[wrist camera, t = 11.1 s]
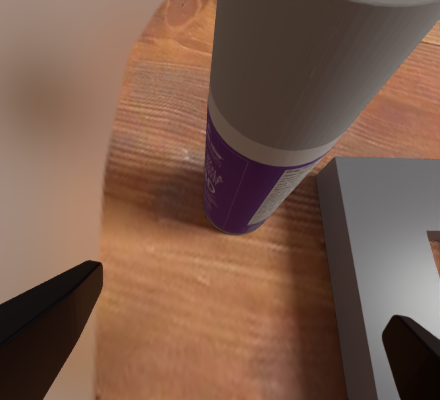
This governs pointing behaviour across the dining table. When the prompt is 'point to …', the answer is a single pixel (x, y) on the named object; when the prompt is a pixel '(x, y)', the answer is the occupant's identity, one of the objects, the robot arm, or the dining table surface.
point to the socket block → (379, 258)
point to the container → (293, 92)
